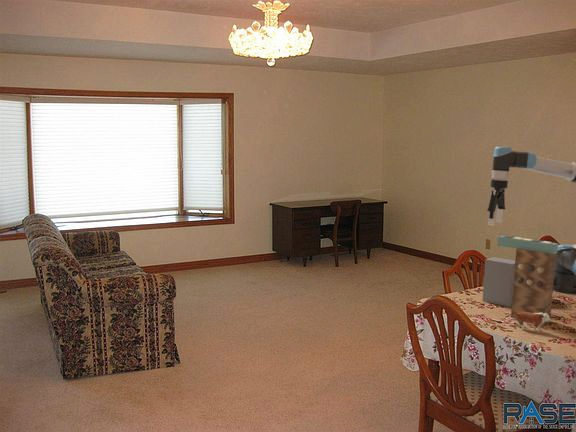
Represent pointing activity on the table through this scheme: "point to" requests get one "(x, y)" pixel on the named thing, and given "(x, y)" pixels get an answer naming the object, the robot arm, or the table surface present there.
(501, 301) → the grey plinth
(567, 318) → the table surface
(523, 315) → the bull figurine
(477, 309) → the table surface
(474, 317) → the table surface
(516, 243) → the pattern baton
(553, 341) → the table surface
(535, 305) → the walnut stand
